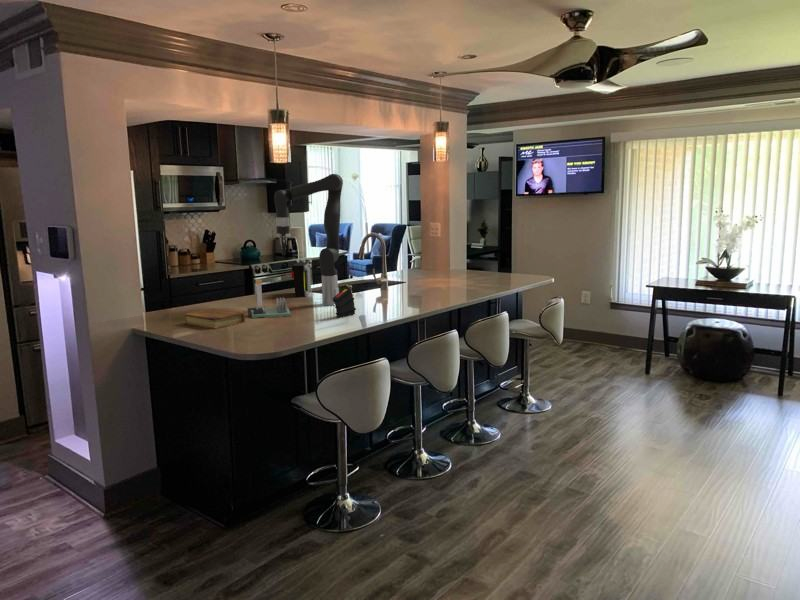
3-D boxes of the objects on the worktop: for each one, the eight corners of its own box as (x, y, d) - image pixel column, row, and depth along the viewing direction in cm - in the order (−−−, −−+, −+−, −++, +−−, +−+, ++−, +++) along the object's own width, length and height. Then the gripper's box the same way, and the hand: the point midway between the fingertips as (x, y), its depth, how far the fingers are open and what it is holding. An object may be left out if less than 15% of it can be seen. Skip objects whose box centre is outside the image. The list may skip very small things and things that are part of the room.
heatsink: (247, 311, 335) (247, 299, 334) (285, 309, 340) (284, 297, 339) (248, 317, 319) (247, 304, 318) (287, 315, 324) (286, 302, 323)
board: (251, 310, 338) (251, 308, 337) (287, 308, 343) (287, 306, 342) (252, 318, 317) (251, 315, 316) (290, 316, 322) (290, 313, 321)
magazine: (359, 310, 327) (350, 287, 319) (344, 324, 319) (334, 301, 312) (355, 310, 329) (345, 286, 322) (339, 323, 321) (329, 300, 314)
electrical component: (308, 297, 382) (306, 265, 378) (291, 297, 382) (290, 265, 378) (312, 292, 399) (311, 262, 395) (297, 292, 399) (296, 262, 396)
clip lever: (252, 311, 326) (250, 280, 324) (263, 310, 328) (262, 279, 325) (252, 313, 322) (251, 281, 319) (264, 312, 323) (262, 280, 320)
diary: (245, 323, 307) (244, 312, 306) (215, 330, 292) (214, 318, 291) (215, 318, 320) (214, 307, 319) (185, 324, 305) (184, 313, 303)
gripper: (275, 224, 354) (276, 254, 357) (276, 226, 342) (278, 256, 345) (288, 224, 356) (289, 253, 359) (290, 225, 344) (291, 256, 347)
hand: (284, 255), depth 352 cm, fingers closed
